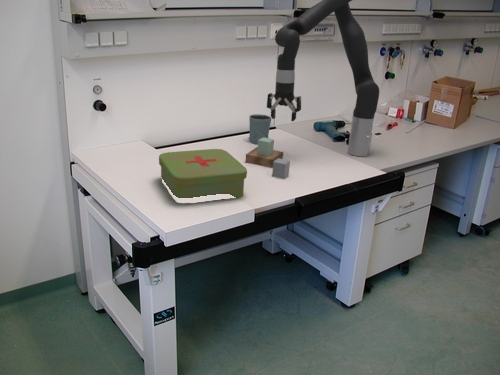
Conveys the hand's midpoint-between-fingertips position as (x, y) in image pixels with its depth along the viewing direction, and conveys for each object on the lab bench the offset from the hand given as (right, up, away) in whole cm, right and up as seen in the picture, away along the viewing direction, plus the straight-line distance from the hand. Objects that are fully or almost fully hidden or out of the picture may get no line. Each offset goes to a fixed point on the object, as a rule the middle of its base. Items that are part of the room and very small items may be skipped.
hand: (283, 119), depth 204 cm
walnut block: (-8, -18, +2) cm, 19 cm away
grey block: (-2, -24, -13) cm, 27 cm away
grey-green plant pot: (-10, -7, +27) cm, 29 cm away
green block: (-8, -14, 0) cm, 16 cm away
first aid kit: (-31, -29, -29) cm, 51 cm away
